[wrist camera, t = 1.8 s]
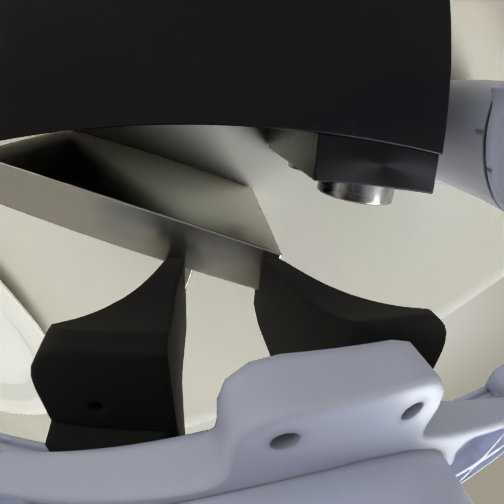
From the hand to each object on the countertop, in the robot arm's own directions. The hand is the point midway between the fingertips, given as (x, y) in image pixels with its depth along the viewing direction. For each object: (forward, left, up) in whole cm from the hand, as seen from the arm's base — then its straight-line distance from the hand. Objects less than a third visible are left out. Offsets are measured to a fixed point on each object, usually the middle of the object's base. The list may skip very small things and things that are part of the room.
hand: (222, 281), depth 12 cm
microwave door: (+5, 0, -9) cm, 10 cm away
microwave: (+1, -11, -9) cm, 14 cm away
